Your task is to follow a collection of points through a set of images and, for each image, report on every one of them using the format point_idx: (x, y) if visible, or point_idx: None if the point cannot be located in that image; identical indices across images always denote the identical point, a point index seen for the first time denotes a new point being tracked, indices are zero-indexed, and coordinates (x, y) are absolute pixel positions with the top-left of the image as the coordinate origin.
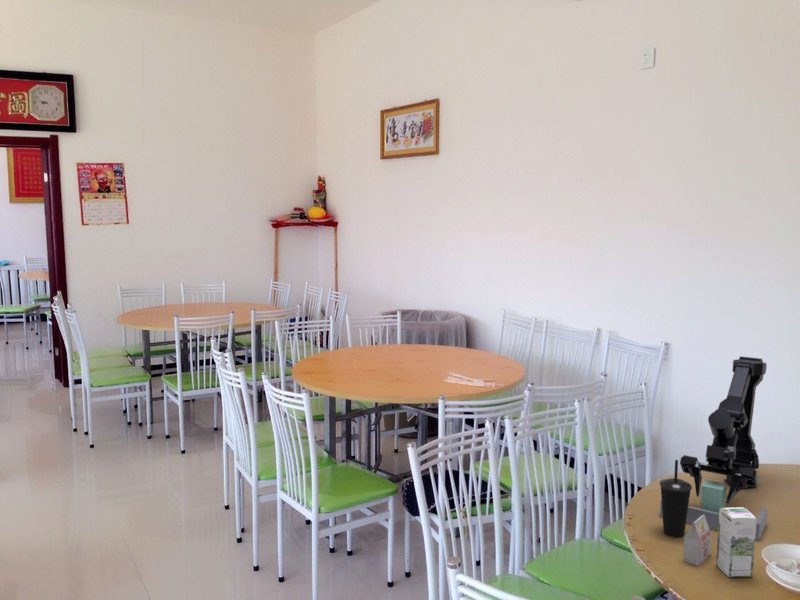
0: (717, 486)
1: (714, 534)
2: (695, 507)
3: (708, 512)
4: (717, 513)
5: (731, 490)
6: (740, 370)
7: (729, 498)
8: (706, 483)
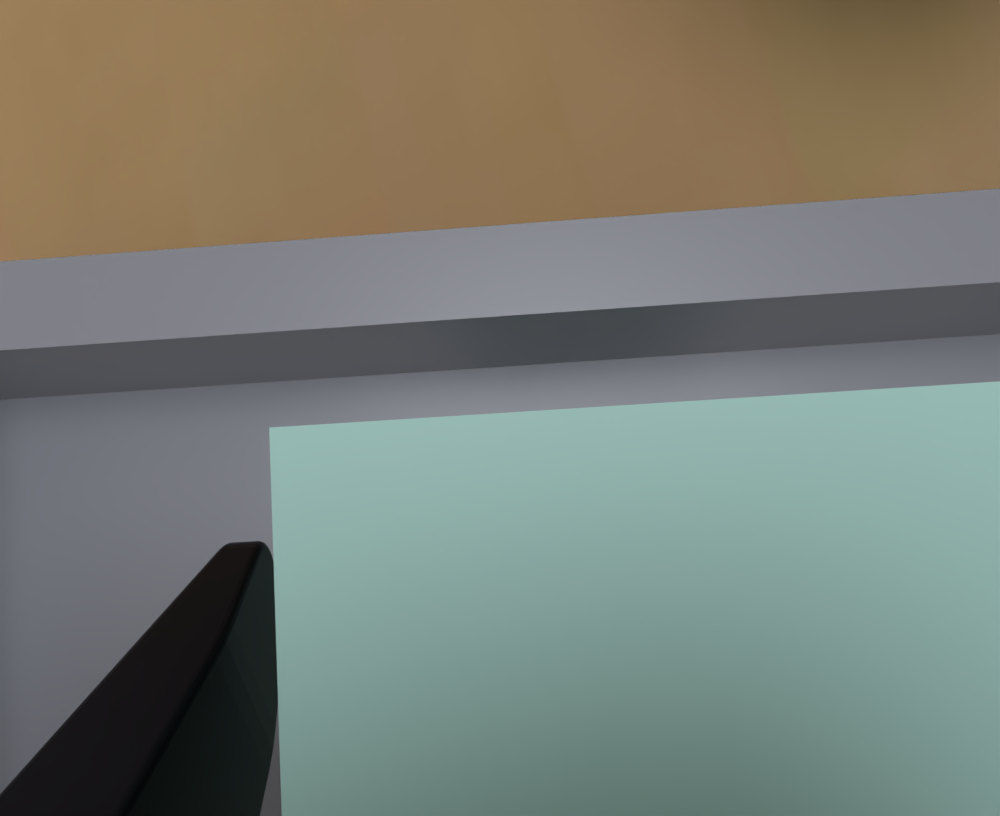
0: (512, 698)
1: None
2: (857, 285)
3: (579, 225)
4: (422, 267)
5: (57, 796)
6: None
7: (182, 601)
8: (968, 745)
